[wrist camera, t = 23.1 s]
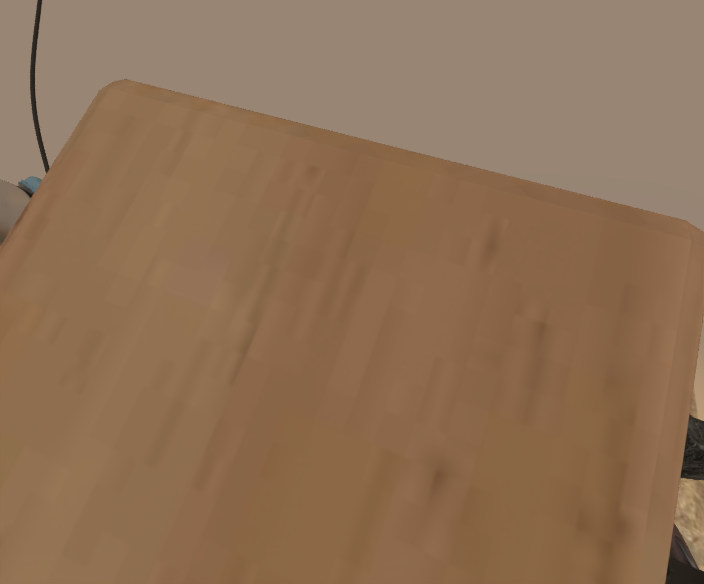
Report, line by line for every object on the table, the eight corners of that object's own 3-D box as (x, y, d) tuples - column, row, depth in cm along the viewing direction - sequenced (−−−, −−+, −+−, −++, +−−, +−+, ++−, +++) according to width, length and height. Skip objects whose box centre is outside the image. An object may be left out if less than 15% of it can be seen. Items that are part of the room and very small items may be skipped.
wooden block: (452, 355, 24) (741, 216, 4) (405, 510, 21) (571, 1555, 2) (316, 307, 25) (99, 59, 6) (261, 446, 23) (-337, 729, 4)
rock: (693, 459, 38) (762, 484, 40) (671, 395, 42) (734, 420, 44) (625, 467, 44) (687, 489, 46) (612, 411, 49) (669, 432, 50)
